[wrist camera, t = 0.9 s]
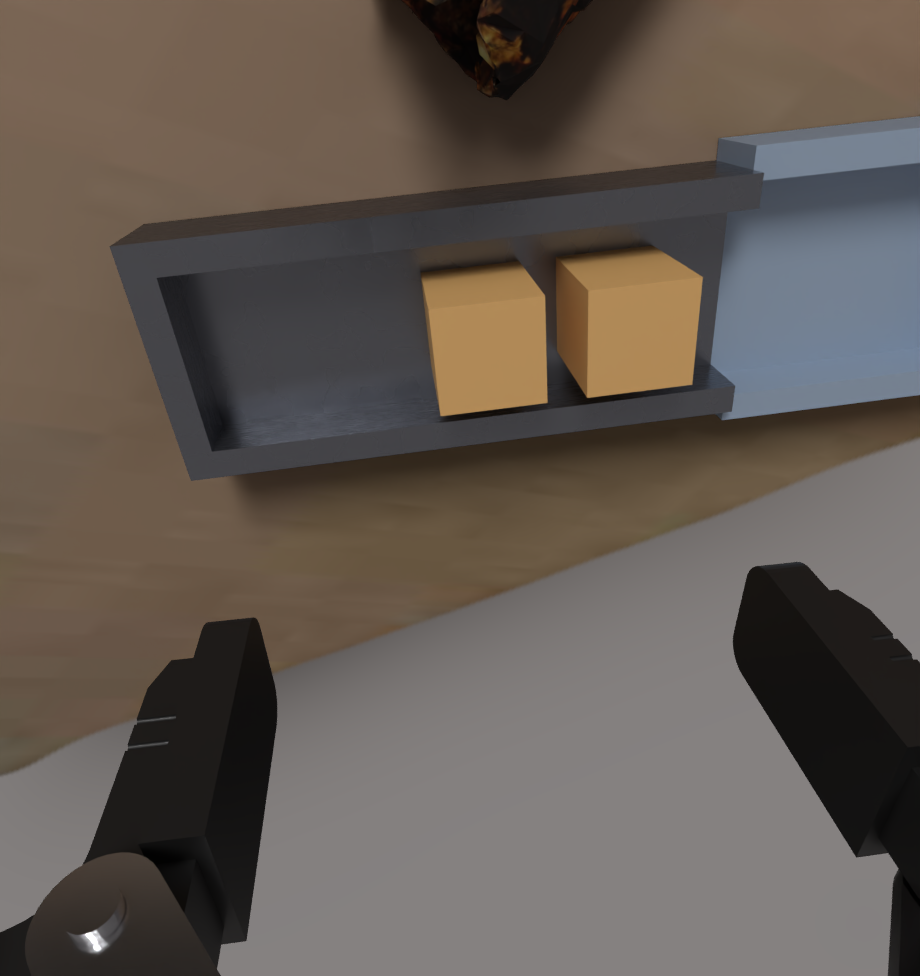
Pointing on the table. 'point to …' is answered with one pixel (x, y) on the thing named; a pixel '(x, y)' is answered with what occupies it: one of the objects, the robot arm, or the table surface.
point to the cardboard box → (627, 320)
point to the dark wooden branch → (497, 36)
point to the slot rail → (397, 312)
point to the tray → (822, 269)
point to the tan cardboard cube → (486, 337)
